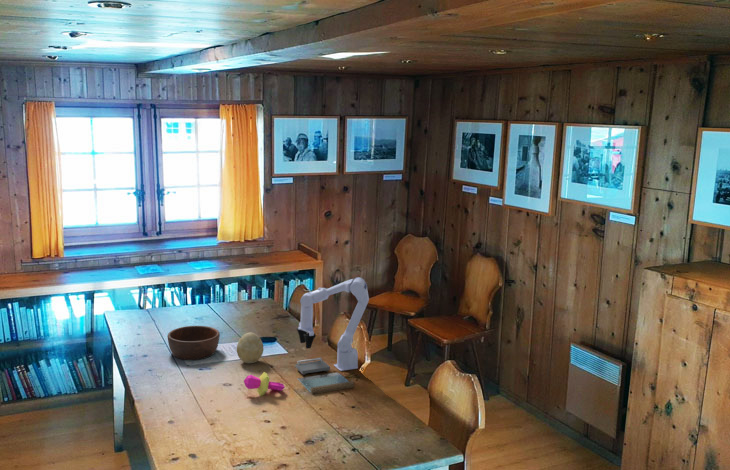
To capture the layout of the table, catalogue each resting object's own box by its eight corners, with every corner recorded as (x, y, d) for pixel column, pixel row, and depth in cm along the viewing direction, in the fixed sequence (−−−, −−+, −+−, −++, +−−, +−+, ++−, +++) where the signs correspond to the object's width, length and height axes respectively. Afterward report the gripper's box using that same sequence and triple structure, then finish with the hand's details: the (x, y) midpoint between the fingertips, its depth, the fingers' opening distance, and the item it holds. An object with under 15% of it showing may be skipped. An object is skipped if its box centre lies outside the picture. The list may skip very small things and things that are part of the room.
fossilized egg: (234, 359, 330) (234, 329, 327) (259, 356, 335) (259, 327, 332) (239, 368, 319) (240, 338, 316) (266, 365, 324) (266, 335, 321)
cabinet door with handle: (322, 365, 326) (322, 357, 325) (330, 372, 318) (330, 363, 317) (295, 369, 320) (295, 360, 319) (302, 376, 312) (302, 367, 311)
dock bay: (336, 373, 319) (336, 367, 318) (353, 388, 302) (353, 382, 302) (296, 379, 310) (296, 373, 309) (311, 395, 294) (311, 388, 293)
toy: (285, 399, 290) (289, 375, 293) (245, 392, 282) (249, 367, 285) (276, 399, 298) (280, 376, 301) (237, 393, 291) (242, 369, 294)
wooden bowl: (157, 357, 330) (156, 336, 328) (188, 341, 353) (188, 322, 351) (200, 366, 321) (199, 345, 319) (229, 349, 344) (229, 330, 342)
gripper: (293, 314, 328) (292, 341, 330) (304, 323, 315) (303, 351, 317) (307, 313, 331) (305, 339, 333) (318, 322, 318) (317, 349, 321)
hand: (305, 345), depth 326 cm, fingers open, 7 cm apart
